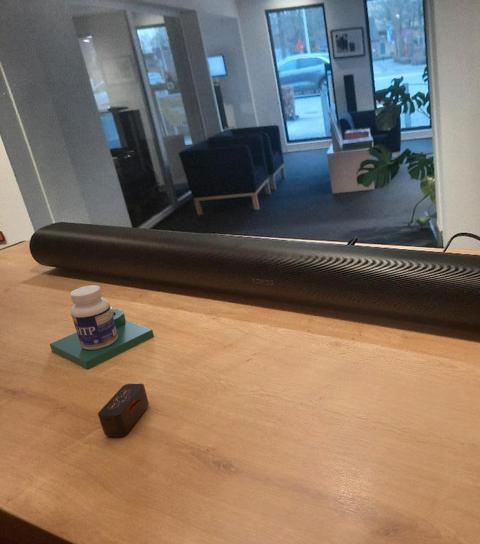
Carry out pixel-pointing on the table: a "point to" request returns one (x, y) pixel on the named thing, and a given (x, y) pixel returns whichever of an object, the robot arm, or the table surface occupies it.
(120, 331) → the scale
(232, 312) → the table surface
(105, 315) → the pill bottle
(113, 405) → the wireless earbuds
